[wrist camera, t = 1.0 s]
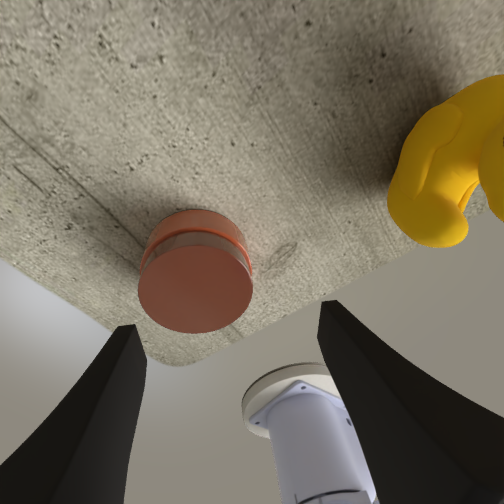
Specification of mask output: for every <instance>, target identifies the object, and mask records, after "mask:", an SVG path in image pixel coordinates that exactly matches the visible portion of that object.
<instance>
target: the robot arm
mask: <svg viewBox="0 0 504 504" xmlns="http://www.w3.org/2000/svg"><path fill="white" fill-rule="evenodd" d="M317 339H318V342H319V345H320V349H321V352H322V355H323V358H324V361H325V363H326V366H327V368H328V370H329V372H330V375H331V377H332V379H333V381H334V383H335V386H336V388H337V390H338V392H339V394H340V396H341V398H340V397H338V396H335V395H333V394H331V393H329V392H327V391H324V390H322V389H320V388H318V387H316V386H313V385H311V384H309V383H307V382H304V381H302V380H298V381H296V382H295V383H293V384H292V385H291V386H289V387H288V388H287V389H286V390H284V391H283V392H282V393H281V394H279V395H278V396H277V397H276V398H274V399H273V400H272V401H270V402H269V403H268V404H267V405H265V406H264V407H263V408H262V409H260V410H259V411H258V412H257V413H255V414H254V415H253V416H251V417H250V418H249V422H250V424H252V425H256V426H259V427H262V428H265V429H268V430H269V435H270V441H271V446H272V451H273V457H274V463H275V468H276V473H277V479H278V484H279V490H280V495H281V500H282V504H504V418H503V417H501V416H499V415H497V414H495V413H494V412H491V411H490V410H488V409H486V408H484V407H482V406H480V405H478V404H477V403H475V402H473V401H471V400H469V399H468V398H466V397H464V396H462V395H461V394H459V393H457V392H456V391H454V390H452V389H451V388H449V387H447V386H446V385H444V384H442V383H441V382H439V381H438V380H436V379H435V378H433V377H431V376H430V375H428V374H427V373H426V372H424V371H423V370H421V369H420V368H418V367H417V366H415V365H413V364H412V363H411V362H410V361H408V360H407V359H405V358H404V357H403V356H401V355H400V354H399V353H398V352H396V351H395V350H394V349H392V348H391V347H390V346H389V345H387V344H386V343H385V342H384V341H382V340H381V339H380V338H379V337H378V336H377V335H375V334H374V333H373V332H372V331H371V330H369V329H368V328H367V327H366V326H365V325H364V324H363V323H361V322H360V321H359V320H358V319H357V318H356V317H355V316H354V315H353V314H351V313H350V312H349V311H348V310H347V309H346V308H345V307H344V306H343V305H342V304H341V303H339V302H338V301H337V300H332V301H324V302H322V304H321V312H320V319H319V326H318V334H317ZM146 367H147V358H146V355H145V352H144V349H143V346H142V343H141V340H140V337H139V334H138V331H137V328H136V325H135V324H133V325H124V326H118V327H117V328H116V329H115V331H114V332H113V334H112V335H111V337H110V338H109V339H108V341H107V342H106V344H105V345H104V346H103V348H102V349H101V351H100V352H99V353H98V355H97V356H96V357H95V359H94V360H93V362H92V363H91V364H90V366H89V367H88V368H87V369H86V371H85V372H84V373H83V375H82V376H81V378H80V379H79V380H78V381H77V383H76V384H75V385H74V386H73V387H72V389H71V390H70V391H69V392H68V394H67V395H66V396H65V397H64V398H63V400H62V401H61V402H60V403H59V404H58V406H57V407H56V408H55V409H54V410H53V411H52V412H51V414H50V415H49V416H48V417H47V418H46V419H45V420H44V421H43V423H42V424H41V425H40V426H39V427H38V428H37V429H36V430H35V431H34V432H33V433H32V434H31V435H30V436H29V437H28V439H27V440H25V441H24V443H22V445H21V446H20V447H19V448H18V449H17V450H16V451H15V452H14V453H13V454H12V455H11V456H9V458H8V459H6V460H5V461H4V462H3V463H2V465H0V504H123V503H124V494H125V486H126V478H127V470H128V463H129V458H130V452H131V448H132V443H133V438H134V433H135V429H136V425H137V419H138V415H139V411H140V406H141V401H142V397H143V392H144V387H145V378H146ZM376 494H377V497H378V500H379V501H374V499H375V495H376Z"/></svg>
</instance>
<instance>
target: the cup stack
mask: <svg viewBox="0 0 504 504" xmlns="http://www.w3.org/2000/svg"><path fill="white" fill-rule="evenodd" d="M251 276H252V266H251V260H250V256H249V253H248V249H247V245H246V241H245V238H244V236H243V234H242V233H241V231H240V230H239V228H238V227H237V226H236V225H235V224H234V223H233V222H231V221H230V220H229V219H227V218H226V217H224V216H222V215H220V214H218V213H215V212H211V211H206V210H186V211H181V212H178V213H175V214H173V215H170V216H168V217H167V218H165V219H164V220H162V221H161V222H160V223H159V224H158V225H157V226H156V227H155V228H154V229H153V231H152V232H151V234H150V236H149V238H148V241H147V244H146V247H145V250H144V253H143V257H142V260H141V264H140V279H139V283H138V297H139V300H140V303H141V305H142V307H143V309H144V311H145V312H146V313H147V314H148V316H149V317H150V318H151V319H153V320H154V321H155V322H157V323H158V324H160V325H161V326H163V327H165V328H168V329H170V330H173V331H177V332H182V333H191V334H197V333H207V332H212V331H215V330H218V329H221V328H223V327H226V326H227V325H229V324H231V323H232V322H234V321H235V320H237V319H238V318H239V317H240V316H241V315H242V314H243V313H244V312H245V310H246V309H247V307H248V305H249V303H250V301H251V298H252V293H253V283H252V278H251Z"/></svg>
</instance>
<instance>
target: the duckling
mask: <svg viewBox="0 0 504 504" xmlns="http://www.w3.org/2000/svg"><path fill="white" fill-rule="evenodd" d="M479 183H480V184H481V186H482V188H483V190H484V192H485V193H486V196H487V199H488V204H489V207H490V209H491V210H492V212H493V213H494V214H495V215H496V216H497V217H498V218H499V219H500V220H501V221H503V222H504V74H503V75H495V76H491V77H487V78H484V79H482V80H479V81H477V82H475V83H473V84H471V85H470V86H468V87H466V88H464V89H463V90H461V91H460V92H458V93H457V94H455V95H453V96H452V97H450V98H449V99H447V100H446V101H445V102H443V103H442V104H440V105H438V106H435V107H433V108H431V109H430V110H428V111H427V112H426V113H425V114H424V115H423V116H422V117H421V118H420V119H419V121H418V122H417V123H416V125H415V126H414V128H413V129H412V131H411V132H410V133H409V135H408V136H407V138H406V140H405V142H404V145H403V148H402V151H401V154H400V158H399V163H398V166H397V169H396V171H395V174H394V176H393V178H392V181H391V184H390V187H389V191H388V197H387V207H388V211H389V213H390V215H391V217H392V219H393V220H394V222H395V223H396V224H397V226H398V227H399V228H400V229H401V230H402V231H403V232H404V233H405V234H406V235H408V236H409V237H410V238H411V239H413V240H414V241H416V242H417V243H419V244H422V245H424V246H428V247H437V248H444V247H451V246H454V245H456V244H458V243H460V242H461V241H462V240H463V239H464V238H465V237H466V235H467V232H468V223H467V220H466V218H465V217H464V215H463V211H464V209H465V207H466V204H467V202H468V200H469V198H470V196H471V194H472V192H473V190H474V189H475V187H476V186H477V185H478V184H479Z"/></svg>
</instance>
